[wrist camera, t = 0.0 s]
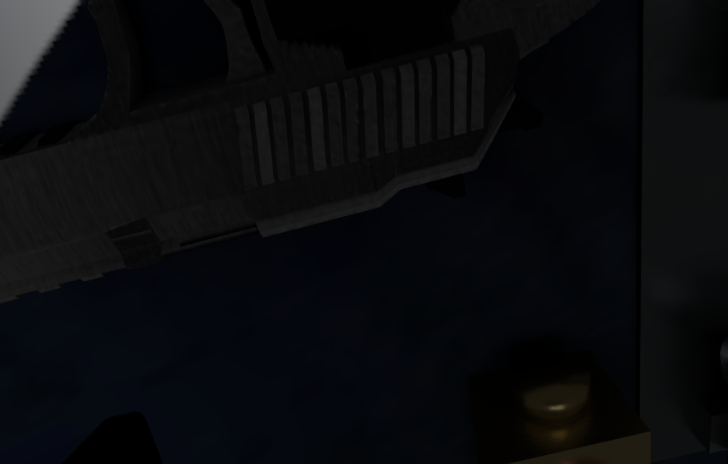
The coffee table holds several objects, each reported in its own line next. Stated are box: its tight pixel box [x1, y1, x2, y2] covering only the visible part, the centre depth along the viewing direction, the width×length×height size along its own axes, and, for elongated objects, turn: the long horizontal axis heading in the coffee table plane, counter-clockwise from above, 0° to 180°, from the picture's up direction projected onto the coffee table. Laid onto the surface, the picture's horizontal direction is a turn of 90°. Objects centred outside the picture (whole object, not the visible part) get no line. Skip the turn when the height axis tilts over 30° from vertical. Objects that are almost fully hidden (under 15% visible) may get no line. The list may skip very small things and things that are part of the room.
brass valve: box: [468, 350, 651, 464], centre depth 26 cm, size 7×5×6 cm
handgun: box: [0, 0, 600, 303], centre depth 19 cm, size 3×26×15 cm
